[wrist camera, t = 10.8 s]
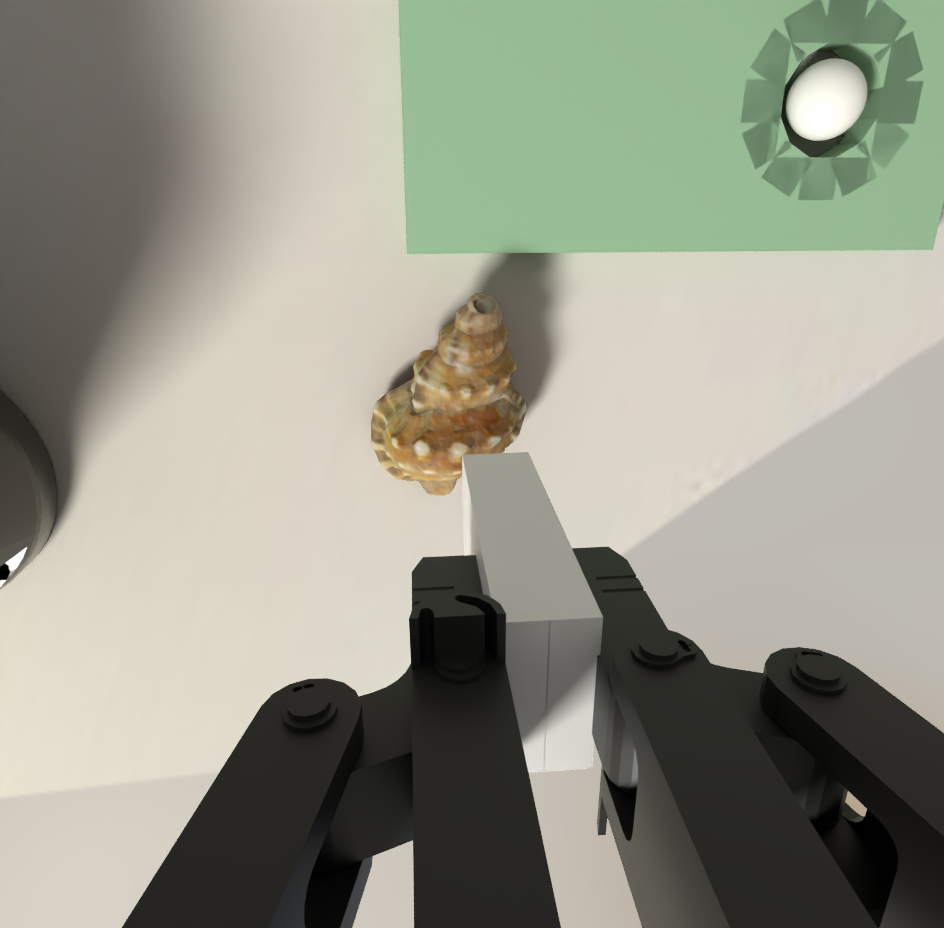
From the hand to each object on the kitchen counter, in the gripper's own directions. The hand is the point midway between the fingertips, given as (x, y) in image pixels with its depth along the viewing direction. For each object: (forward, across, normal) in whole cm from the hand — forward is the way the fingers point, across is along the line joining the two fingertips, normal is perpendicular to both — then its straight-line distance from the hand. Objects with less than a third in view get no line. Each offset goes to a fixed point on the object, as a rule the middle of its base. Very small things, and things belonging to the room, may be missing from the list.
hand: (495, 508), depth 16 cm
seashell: (+25, 0, -4) cm, 25 cm away
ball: (+23, +19, +11) cm, 31 cm away
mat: (+24, +12, +11) cm, 29 cm away
